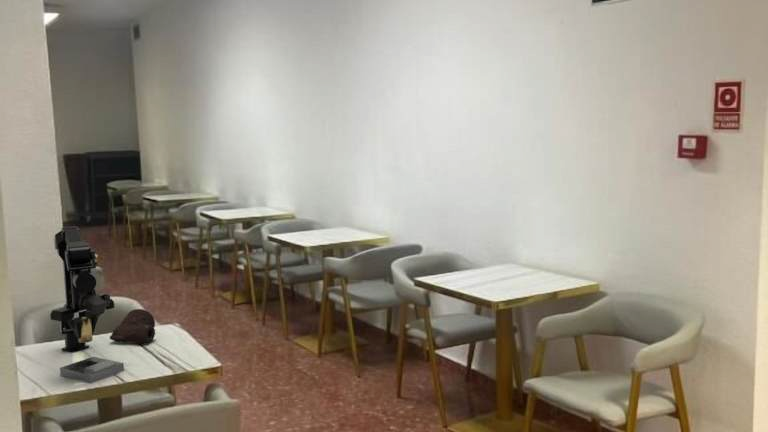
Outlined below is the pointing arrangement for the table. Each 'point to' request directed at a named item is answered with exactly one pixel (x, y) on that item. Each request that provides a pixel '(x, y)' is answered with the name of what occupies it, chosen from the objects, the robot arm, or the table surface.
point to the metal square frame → (91, 369)
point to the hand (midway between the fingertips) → (85, 336)
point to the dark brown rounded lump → (135, 328)
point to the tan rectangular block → (86, 330)
